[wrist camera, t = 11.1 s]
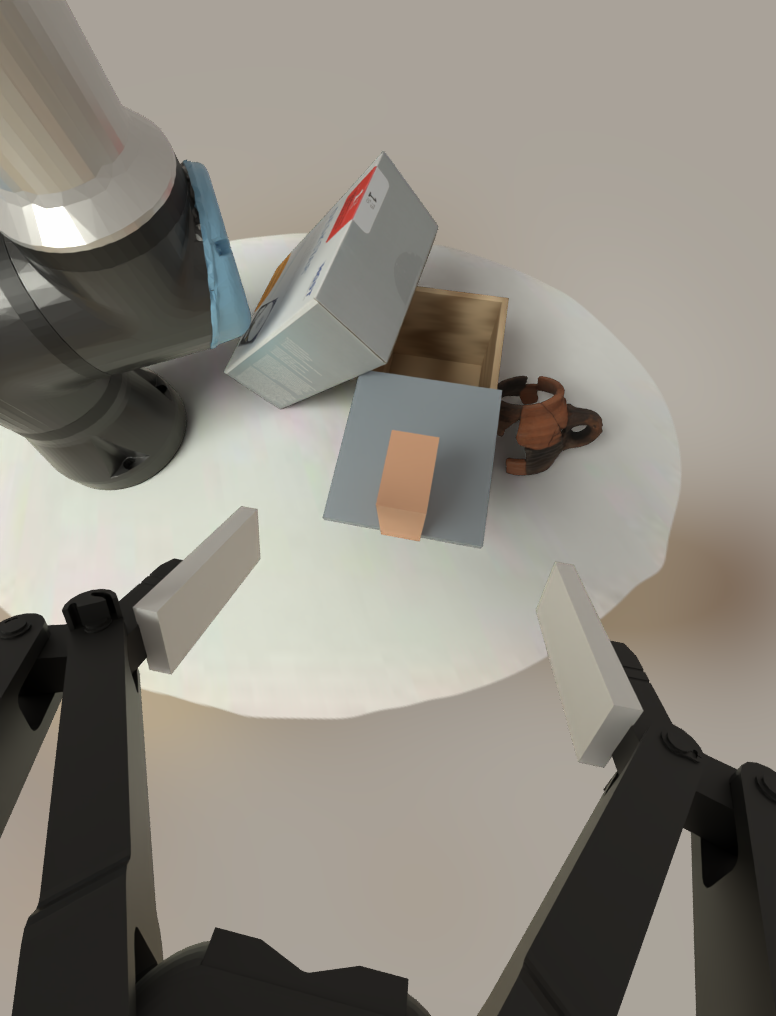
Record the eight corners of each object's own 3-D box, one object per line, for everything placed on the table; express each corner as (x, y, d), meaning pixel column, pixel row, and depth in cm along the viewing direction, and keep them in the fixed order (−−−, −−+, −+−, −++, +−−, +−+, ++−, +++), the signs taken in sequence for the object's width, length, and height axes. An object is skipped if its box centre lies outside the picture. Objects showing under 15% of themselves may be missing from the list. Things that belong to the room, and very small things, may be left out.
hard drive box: (275, 266, 45) (385, 145, 30) (326, 312, 50) (443, 227, 35) (220, 373, 41) (316, 295, 26) (281, 413, 46) (392, 366, 31)
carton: (366, 451, 44) (357, 402, 34) (389, 351, 48) (387, 282, 38) (471, 469, 43) (492, 424, 33) (486, 365, 47) (508, 298, 37)
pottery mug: (479, 479, 43) (477, 414, 37) (486, 432, 49) (486, 371, 44) (598, 483, 39) (616, 412, 34) (590, 431, 45) (604, 364, 40)
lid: (323, 525, 31) (296, 490, 23) (361, 374, 35) (350, 300, 27) (479, 554, 30) (509, 528, 22) (499, 395, 34) (530, 325, 26)
